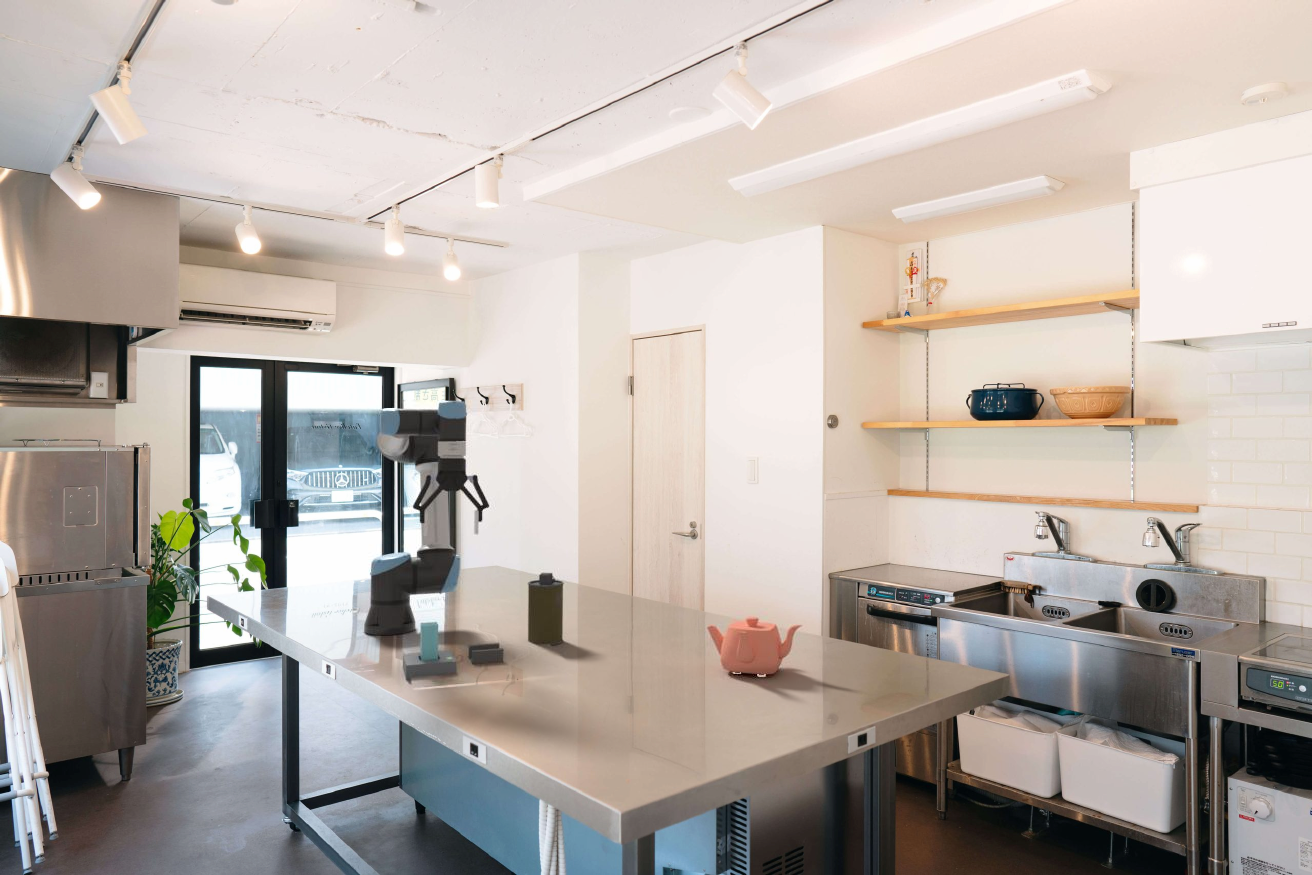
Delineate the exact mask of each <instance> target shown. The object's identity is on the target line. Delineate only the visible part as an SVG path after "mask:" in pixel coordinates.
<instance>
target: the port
mask: <svg viewBox="0 0 1312 875" xmlns="http://www.w3.org/2000/svg"><path fill="white" fill-rule="evenodd" d="M402 670H403V674H404V679H405V680H406V681H408V680H412V679H411V678H413V677H415V678H417V677H426V676H428V677H430V676H439V675H453V674H457V660H456V658H455V656H454V654H453V652H452V650H451V649H450V650H449V649H448V650H438V659H436V660H423V661H420V652H410V653H402Z"/></svg>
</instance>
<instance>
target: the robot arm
mask: <svg viewBox="0 0 1312 875" xmlns="http://www.w3.org/2000/svg"><path fill="white" fill-rule="evenodd" d="M467 415H468V412H467V404H466V403H465V401H459V400H444V401H443V400H442V401H439V403H438V409H428V408H427V409H425V408H424V409H423V408H420V409H419V408H396V407H392V408H382V409H381V410H380V412H379V433H378V436H377V438H376V446H377V449H378V450H379V451H378V452H380V453H381V454H382V455H383V456H384V457H385V458H387V459H389V460H391V461H394V462H397V463H401V464H403V463H404V464H414V466H415V467H414V469H415V470H416V471H417V472H418V473H419V476H420V477H419V478H420V480H419V482H420V485H419V486H420V491H419V493H418V495H417V498H416V499H415V501H414V503H413V505H412V508H413V509H414V510H417V511H418V512H419V523H420V525H421V528H420V531H421V532H420V533H421V546H420V547H419V548H418V549H417V551H416V556H412V555H411V553H410V552H408V551H407V552H393V553H388V554H384V555H379V556H377V557H375V558H374V559H372V560H371V565H370V572H369V574H370V606H369V609H368V611H367V614H366V617H365V621H364V624H363V625H364V626H363V631H364V633H365V634H367V635H368V634H369V635H374V636H391V635H394V636H395V635H402V634H407V633H410V632H413V631H415V630H416V619H415V615H414V613H413V610H412V607H411V595H413V596H414V595H429V594H430V595H431V594H440V595H441V594H447V593H452V592H454V591H455V590H456V589H457V587H458V583H459V578H460V568H461V556H460V555H458V554H455V552H456V551H455V548H453V546H451V545H450V523H449V522H450V521H449V519H450V518H449V515H450V514H449V492H451V491H453V492H459V491H461V492H462V494H464V495H465V496H466V498H467V499H468V500H469V501H470V502H471V503H472V504H473V506H474V507H475V508H476V509H474V514H473V516H474V517H473V518H474V519H473V527H474V528H473V530H474V532H473V534H474V535H479V522H480V523H482V522H483V511H484V510H485V509H488V508H489V507H490V504H489V502H488V500H487V498H486V496H485V494H484V492H483V490H482V488H481V486H480V484H479V479H478V475H477V474H472V475H467V469H466V468H467V459H466V456H467ZM464 457H465V458H464ZM468 481H469V482H470V483H471V484H472V485H473V487H474V489H475V492H476V494H477V496H478V498H479V500H480V501H481V504H480V503H479V501H478V500H477V499H476V498H475V497H474V496H473V494H472V493H471V492H470V491H469V490H468V488H467V487H466V486H465V484H466V482H468Z"/></svg>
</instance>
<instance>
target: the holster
mask: <svg viewBox="0 0 1312 875" xmlns="http://www.w3.org/2000/svg"><path fill="white" fill-rule="evenodd" d="M467 654H468V655H467V656H468V660H469V662H470V663H471V664H472V665H478V664H479V665H480V664H489V663H502V662H504V649H503V648H502V647H500V643H499V642H495V643H493V642H492V643H482V644H469V645H468V653H467Z"/></svg>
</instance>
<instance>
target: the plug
mask: <svg viewBox="0 0 1312 875" xmlns="http://www.w3.org/2000/svg"><path fill="white" fill-rule="evenodd" d="M419 634H420V636H419V638H420V640H419V641H420V645H419V648H420V650H419V651H420V652H419V653H420V661H423V660H436V659H438V651H439V624H438V622H437V621H432V622H429V621H428V622H420V633H419Z"/></svg>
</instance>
